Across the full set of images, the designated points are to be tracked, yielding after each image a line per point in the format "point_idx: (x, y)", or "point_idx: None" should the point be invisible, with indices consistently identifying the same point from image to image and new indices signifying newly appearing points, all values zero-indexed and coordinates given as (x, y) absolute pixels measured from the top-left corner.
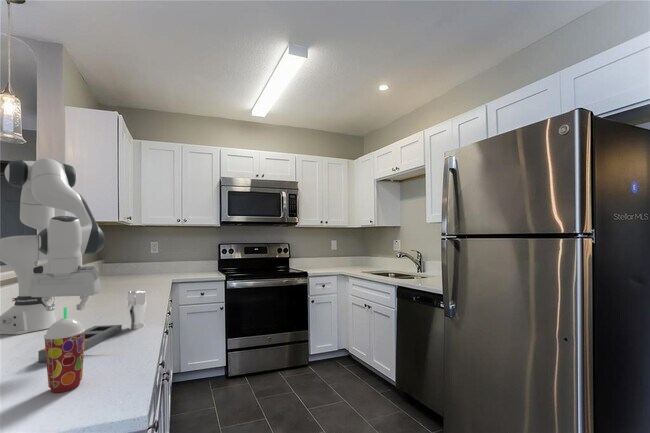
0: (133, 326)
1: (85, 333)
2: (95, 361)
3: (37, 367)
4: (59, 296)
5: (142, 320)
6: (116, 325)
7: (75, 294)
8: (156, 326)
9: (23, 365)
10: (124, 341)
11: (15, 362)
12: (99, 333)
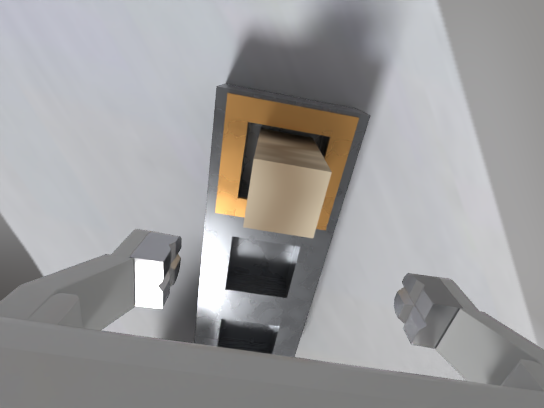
0: None
1: (277, 304)
2: (121, 48)
3: (336, 47)
4: (361, 368)
5: None
6: None
7: (65, 344)
8: None
9: (403, 95)
10: None
11: (446, 144)
12: (219, 288)
